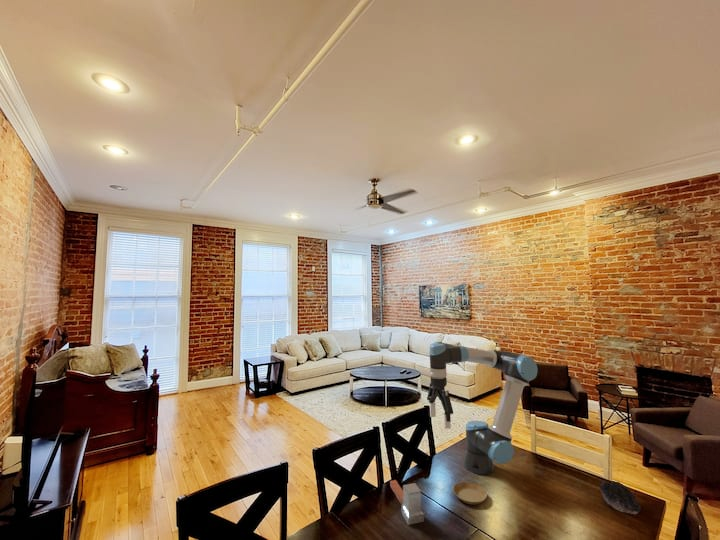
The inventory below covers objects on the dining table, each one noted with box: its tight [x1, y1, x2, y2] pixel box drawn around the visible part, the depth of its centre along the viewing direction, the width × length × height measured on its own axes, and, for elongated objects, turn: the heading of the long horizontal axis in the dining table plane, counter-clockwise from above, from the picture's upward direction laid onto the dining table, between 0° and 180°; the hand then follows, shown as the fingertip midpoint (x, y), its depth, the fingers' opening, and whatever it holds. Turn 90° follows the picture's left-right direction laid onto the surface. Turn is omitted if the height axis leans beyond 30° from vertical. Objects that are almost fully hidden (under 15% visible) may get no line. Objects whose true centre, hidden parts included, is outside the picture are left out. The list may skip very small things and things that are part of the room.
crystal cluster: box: [599, 480, 641, 515], centre depth 140 cm, size 13×14×10 cm
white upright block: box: [402, 482, 422, 516], centre depth 133 cm, size 6×6×9 cm
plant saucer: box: [452, 481, 488, 505], centre depth 145 cm, size 15×15×3 cm
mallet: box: [389, 479, 425, 526], centre depth 142 cm, size 26×7×8 cm, turn 15°
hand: (440, 422), depth 150 cm, fingers open, 13 cm apart
